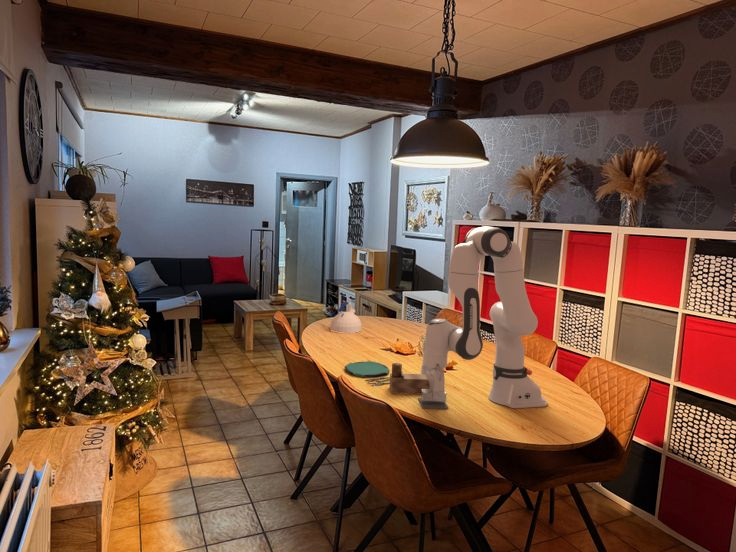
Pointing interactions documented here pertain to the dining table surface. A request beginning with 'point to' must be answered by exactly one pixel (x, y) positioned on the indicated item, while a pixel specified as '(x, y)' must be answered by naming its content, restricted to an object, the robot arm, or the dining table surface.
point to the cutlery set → (369, 371)
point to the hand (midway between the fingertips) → (433, 395)
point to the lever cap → (428, 395)
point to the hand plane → (407, 381)
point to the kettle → (346, 321)
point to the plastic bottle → (423, 359)
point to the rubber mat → (433, 404)
